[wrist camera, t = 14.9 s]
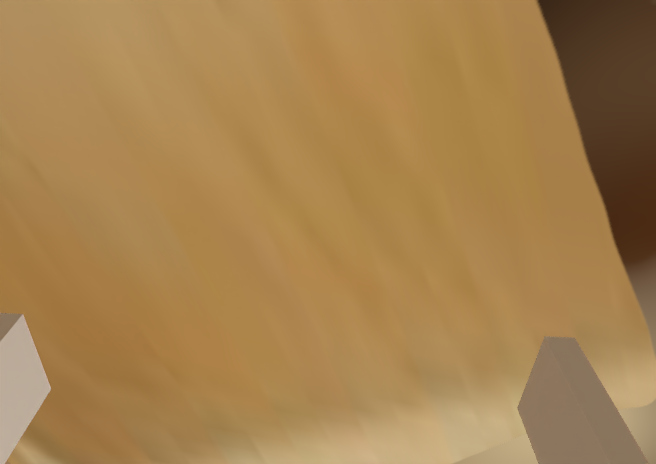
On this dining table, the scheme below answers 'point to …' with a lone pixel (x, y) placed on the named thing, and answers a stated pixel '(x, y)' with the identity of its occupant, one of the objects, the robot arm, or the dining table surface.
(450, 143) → the dining table surface
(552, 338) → the robot arm
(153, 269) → the dining table surface
